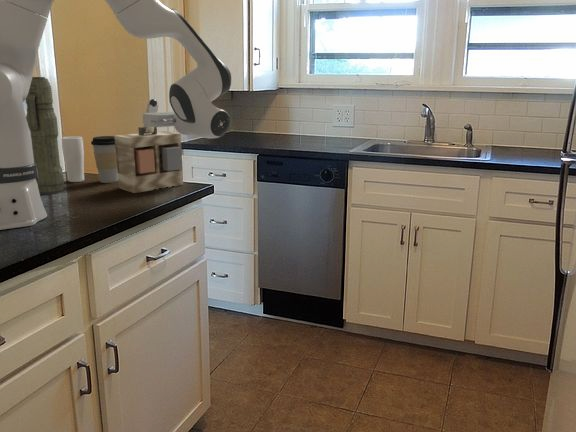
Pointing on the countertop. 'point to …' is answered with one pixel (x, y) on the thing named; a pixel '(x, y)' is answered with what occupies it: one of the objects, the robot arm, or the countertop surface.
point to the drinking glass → (73, 157)
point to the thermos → (44, 136)
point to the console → (160, 177)
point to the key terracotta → (144, 160)
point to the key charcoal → (171, 158)
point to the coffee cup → (105, 158)
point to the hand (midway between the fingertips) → (163, 116)
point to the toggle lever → (151, 108)
